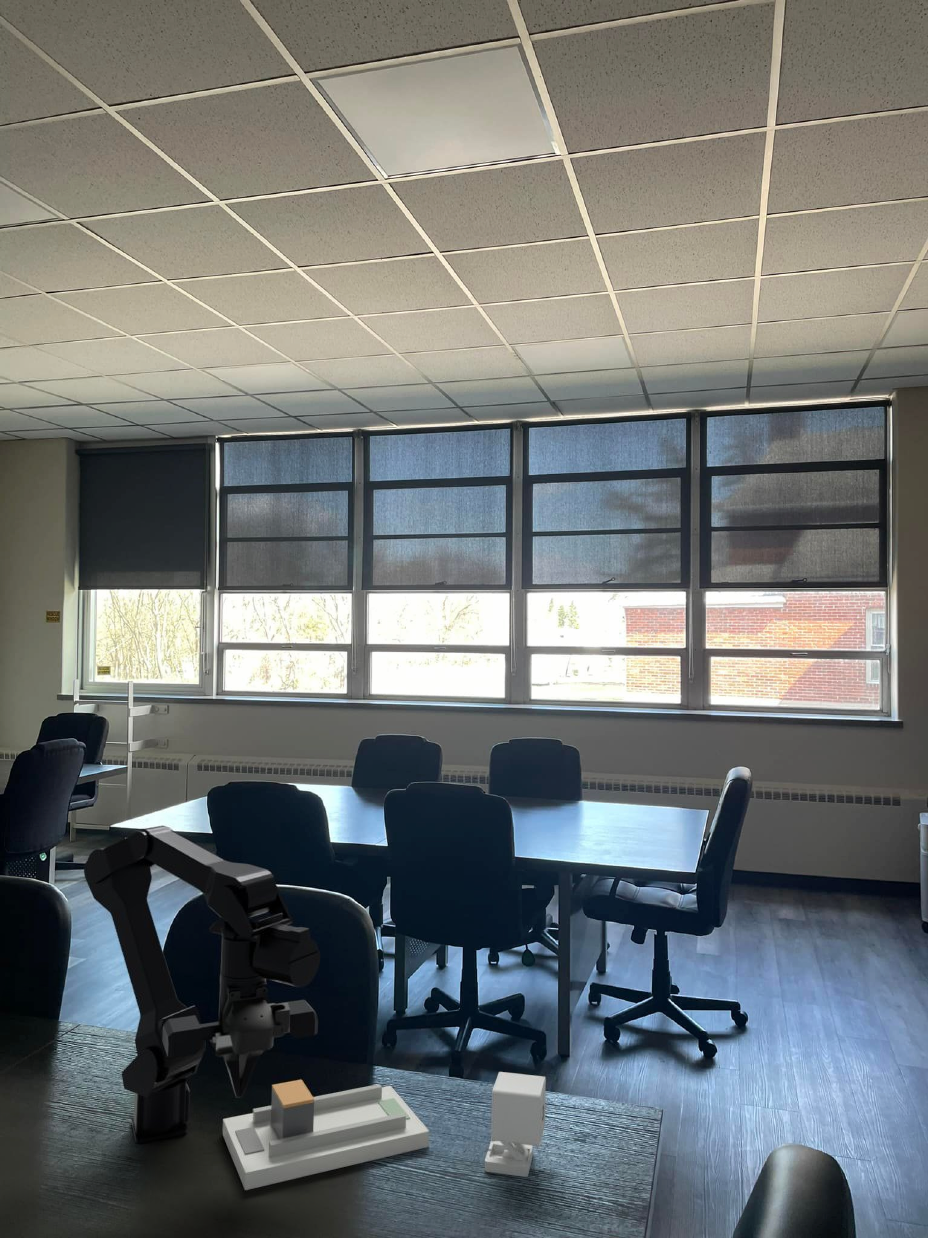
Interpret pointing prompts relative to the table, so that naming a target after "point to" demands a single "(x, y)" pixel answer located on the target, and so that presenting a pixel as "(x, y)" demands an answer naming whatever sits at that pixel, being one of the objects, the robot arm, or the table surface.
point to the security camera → (515, 1122)
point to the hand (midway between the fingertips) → (238, 1096)
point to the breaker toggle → (292, 1109)
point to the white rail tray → (324, 1136)
